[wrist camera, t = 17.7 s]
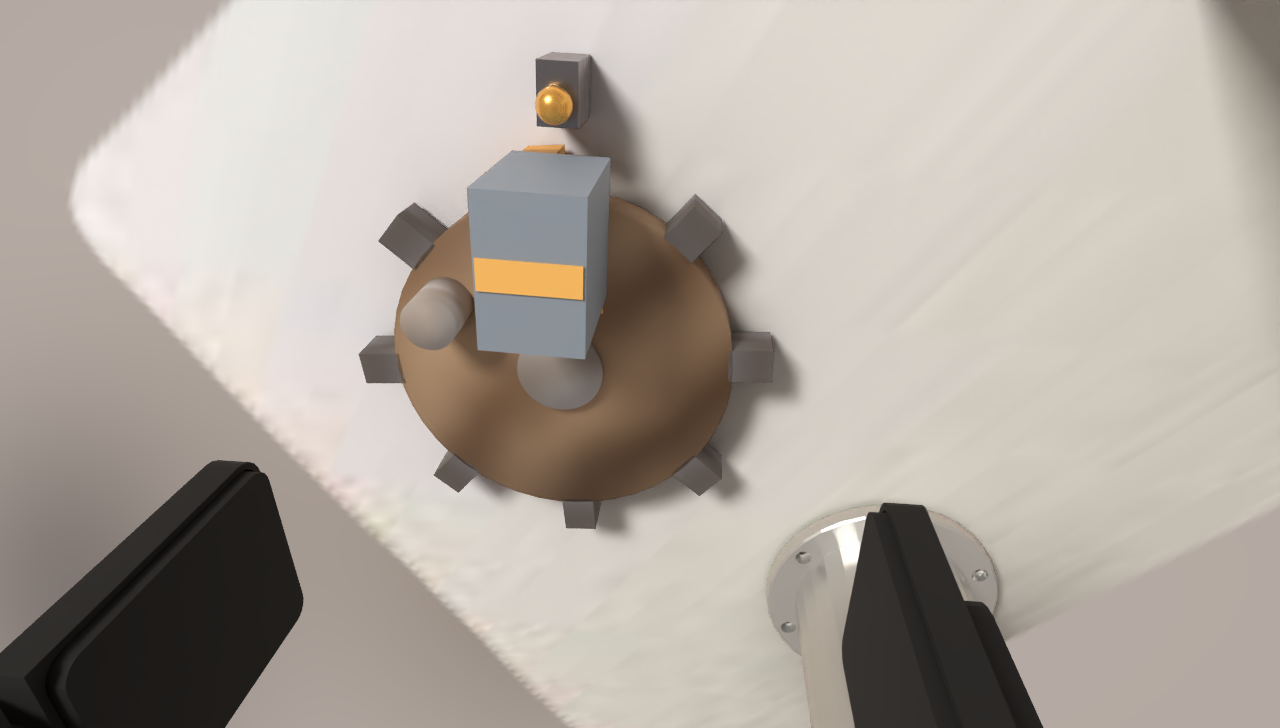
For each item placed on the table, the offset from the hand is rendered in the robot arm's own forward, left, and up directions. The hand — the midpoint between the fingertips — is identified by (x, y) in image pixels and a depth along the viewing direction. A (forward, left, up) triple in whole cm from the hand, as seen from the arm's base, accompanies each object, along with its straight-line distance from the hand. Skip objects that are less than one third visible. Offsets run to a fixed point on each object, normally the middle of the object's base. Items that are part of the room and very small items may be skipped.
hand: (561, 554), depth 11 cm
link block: (-1, +4, -20) cm, 21 cm away
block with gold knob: (+4, +4, -23) cm, 23 cm away
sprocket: (-8, +4, -23) cm, 24 cm away
